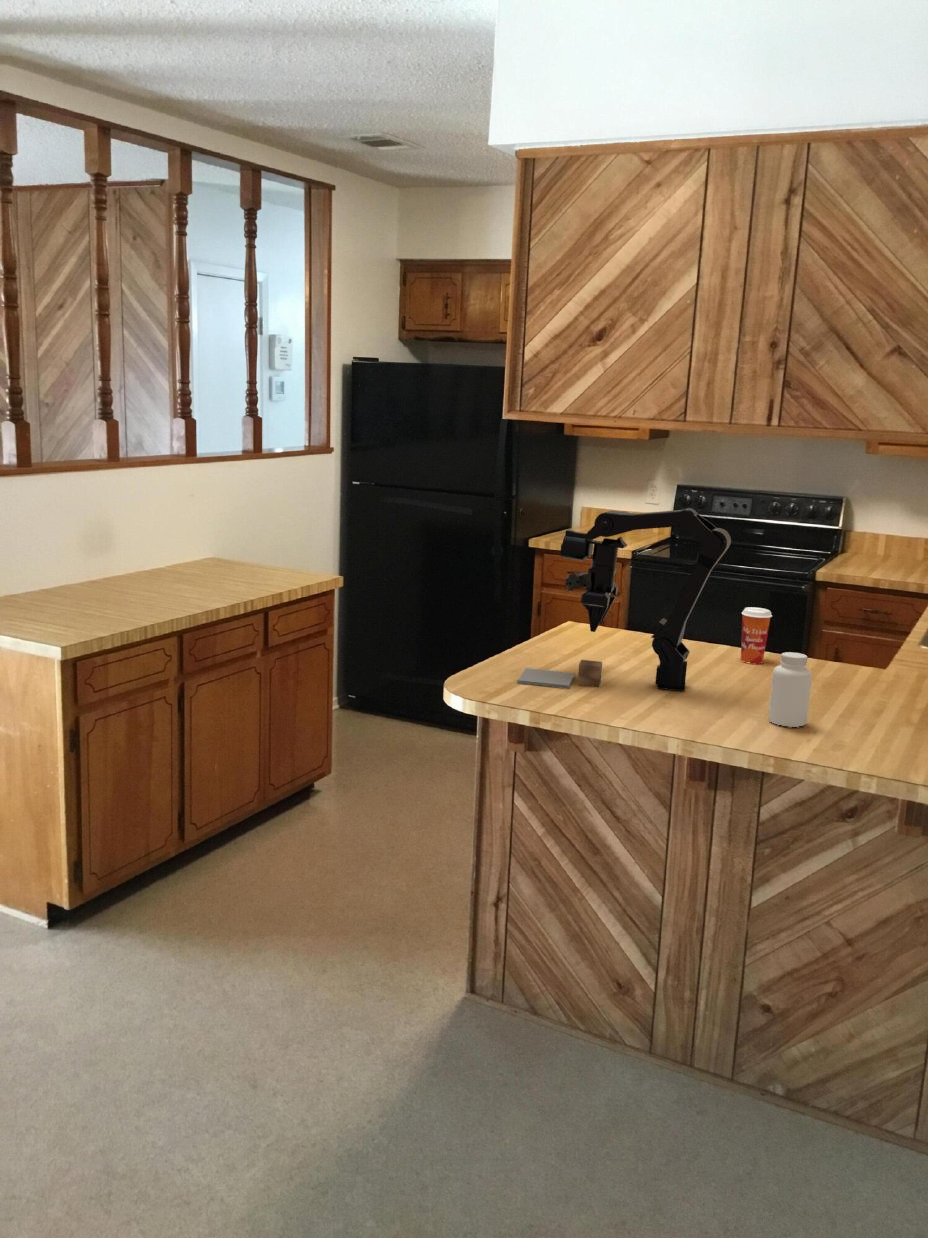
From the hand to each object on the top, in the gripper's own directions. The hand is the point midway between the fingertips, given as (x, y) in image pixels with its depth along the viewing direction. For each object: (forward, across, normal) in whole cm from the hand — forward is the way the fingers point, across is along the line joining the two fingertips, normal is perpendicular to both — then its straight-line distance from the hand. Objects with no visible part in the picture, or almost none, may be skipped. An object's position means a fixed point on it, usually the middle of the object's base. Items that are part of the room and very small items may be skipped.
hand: (595, 627), depth 258 cm
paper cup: (+10, -34, +38) cm, 52 cm away
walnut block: (+12, +7, +1) cm, 14 cm away
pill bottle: (+10, +21, +46) cm, 51 cm away
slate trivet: (+12, +9, -9) cm, 18 cm away
